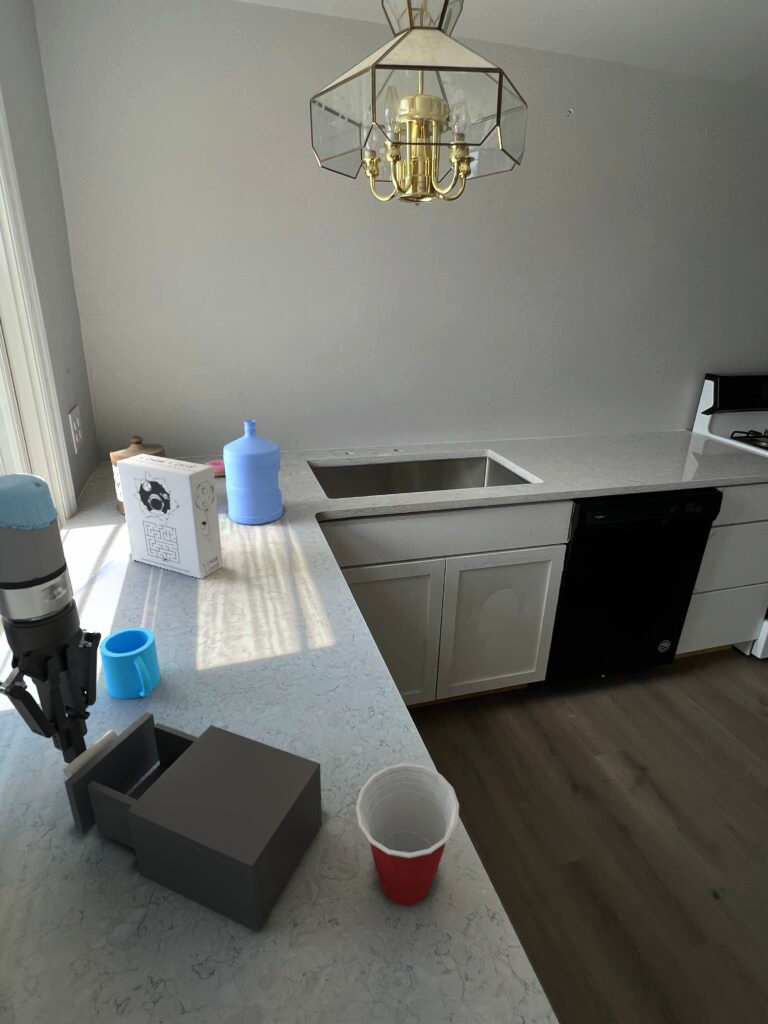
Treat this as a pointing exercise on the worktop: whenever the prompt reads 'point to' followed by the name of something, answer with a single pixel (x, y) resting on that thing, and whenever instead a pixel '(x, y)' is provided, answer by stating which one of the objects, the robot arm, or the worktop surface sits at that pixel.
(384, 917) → the worktop surface
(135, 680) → the mug
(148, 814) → the dark grey rectangular box
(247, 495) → the water jug
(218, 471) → the doughnut
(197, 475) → the cereal box
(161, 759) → the drawer
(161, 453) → the wooden container
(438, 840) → the plastic cup
